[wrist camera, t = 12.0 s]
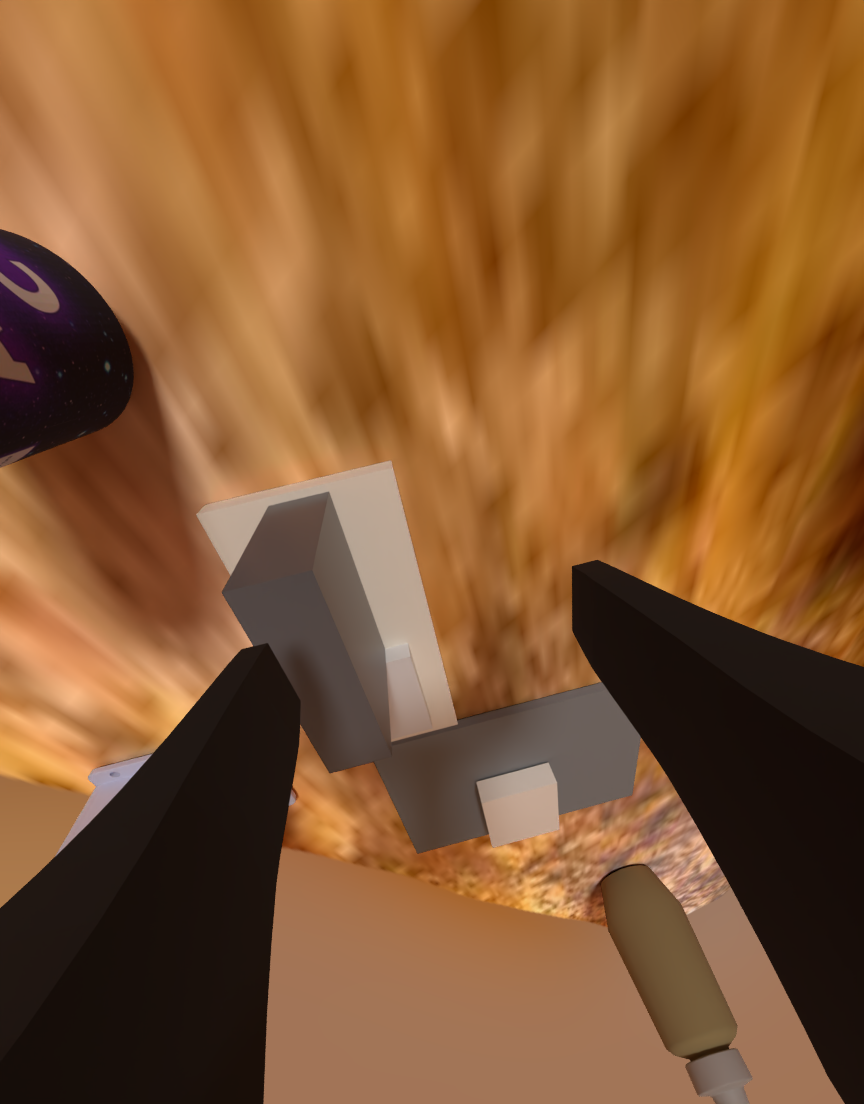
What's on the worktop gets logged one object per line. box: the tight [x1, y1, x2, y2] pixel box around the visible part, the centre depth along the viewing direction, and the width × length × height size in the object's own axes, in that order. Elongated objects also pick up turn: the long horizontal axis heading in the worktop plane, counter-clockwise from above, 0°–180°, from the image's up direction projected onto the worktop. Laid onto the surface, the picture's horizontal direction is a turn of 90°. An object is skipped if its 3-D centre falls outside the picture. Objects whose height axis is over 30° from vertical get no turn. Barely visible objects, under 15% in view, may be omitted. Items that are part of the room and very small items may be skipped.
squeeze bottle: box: [601, 865, 752, 1104], centre depth 36 cm, size 8×8×18 cm
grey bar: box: [222, 492, 433, 773], centre depth 17 cm, size 5×15×6 cm, turn 11°
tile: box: [476, 763, 559, 848], centre depth 30 cm, size 6×2×7 cm
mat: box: [374, 682, 641, 854], centre depth 29 cm, size 19×15×1 cm
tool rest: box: [196, 461, 458, 742], centre depth 20 cm, size 8×17×1 cm, turn 11°
